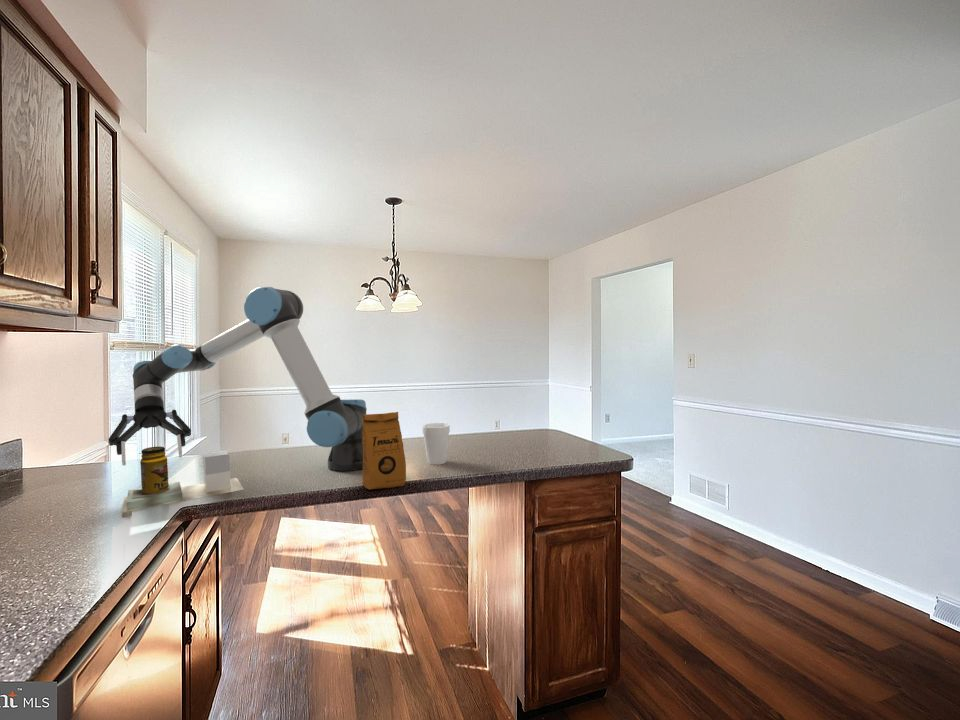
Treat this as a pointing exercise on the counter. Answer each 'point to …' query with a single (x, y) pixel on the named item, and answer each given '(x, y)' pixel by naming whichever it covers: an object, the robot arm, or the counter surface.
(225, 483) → the block pillar
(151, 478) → the condiment
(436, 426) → the foam cup
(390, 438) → the coffee package
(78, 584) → the counter surface
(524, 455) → the counter surface
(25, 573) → the counter surface
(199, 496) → the build board
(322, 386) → the robot arm
